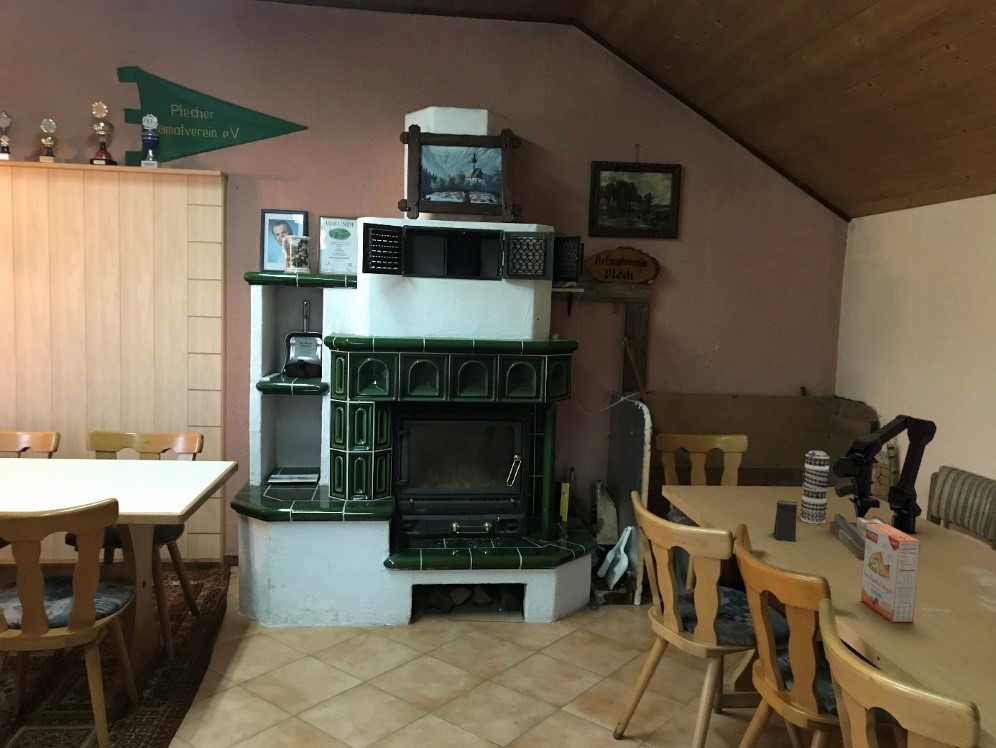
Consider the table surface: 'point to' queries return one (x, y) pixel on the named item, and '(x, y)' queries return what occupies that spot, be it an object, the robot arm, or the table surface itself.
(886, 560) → the cracker box
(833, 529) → the channel board
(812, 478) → the decorative candle
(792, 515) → the phone stand
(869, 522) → the cream block
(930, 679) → the table surface
